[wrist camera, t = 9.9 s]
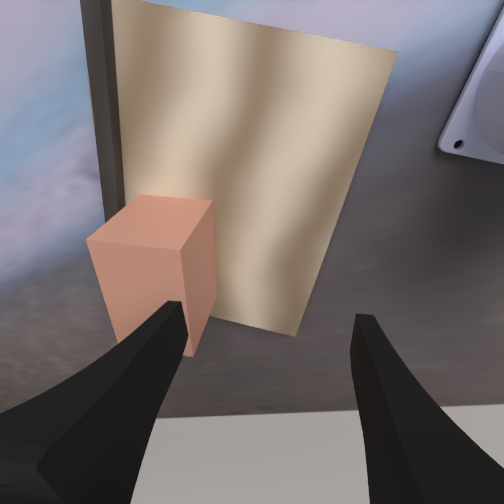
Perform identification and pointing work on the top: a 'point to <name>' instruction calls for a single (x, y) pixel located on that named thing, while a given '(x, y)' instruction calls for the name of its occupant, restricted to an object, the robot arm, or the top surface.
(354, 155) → the shelf board
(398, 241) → the top surface
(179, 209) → the carton
